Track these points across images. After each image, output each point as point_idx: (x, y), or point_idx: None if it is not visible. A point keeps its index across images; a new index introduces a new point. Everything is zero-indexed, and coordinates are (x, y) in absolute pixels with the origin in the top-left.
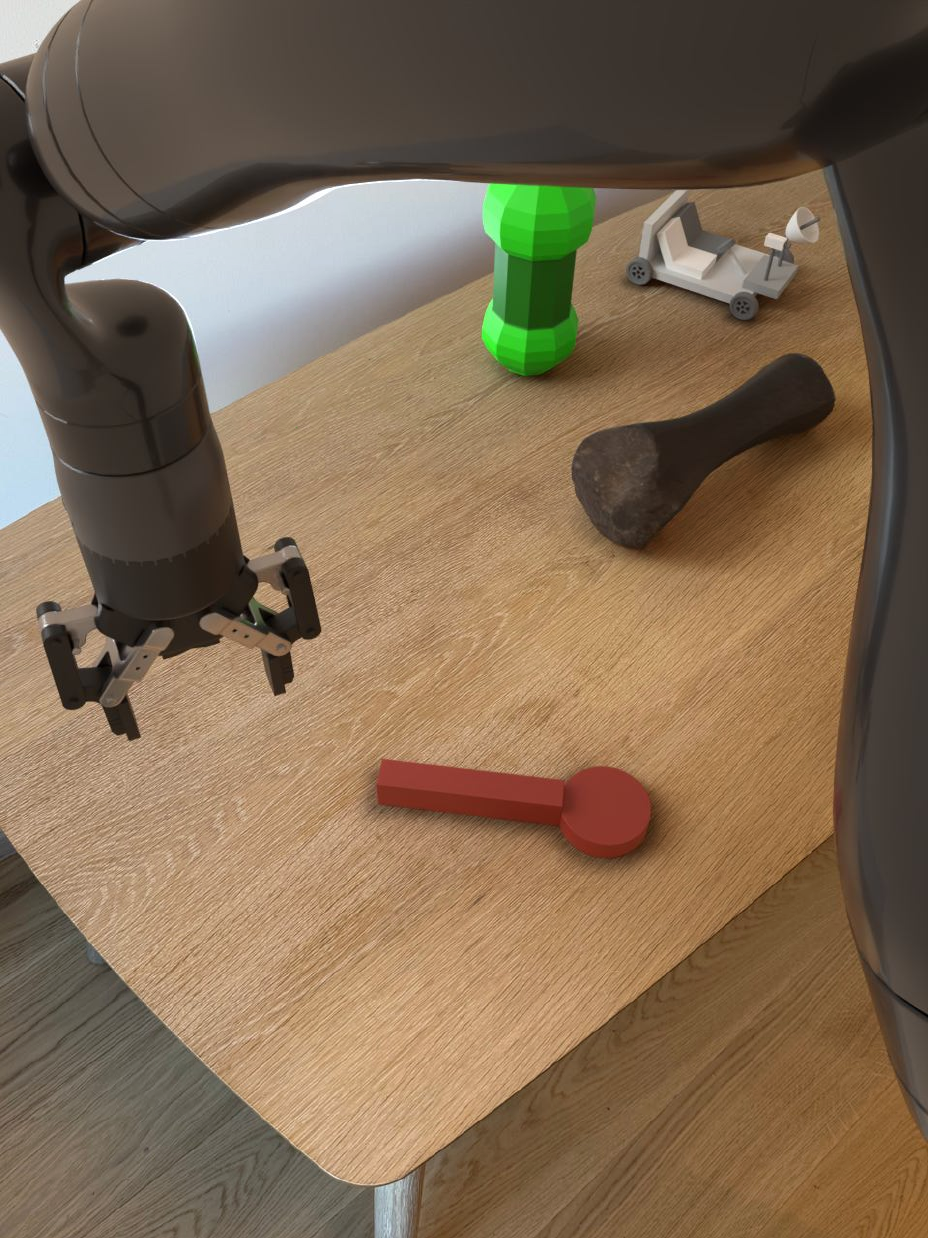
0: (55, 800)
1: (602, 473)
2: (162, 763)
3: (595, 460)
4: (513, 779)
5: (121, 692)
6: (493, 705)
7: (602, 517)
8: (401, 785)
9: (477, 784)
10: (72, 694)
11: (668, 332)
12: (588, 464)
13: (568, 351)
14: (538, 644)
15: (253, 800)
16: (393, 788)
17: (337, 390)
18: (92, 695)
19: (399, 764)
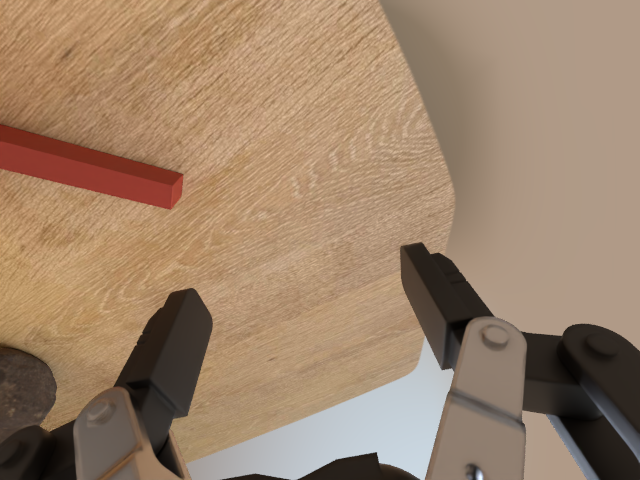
0: (425, 213)
1: (3, 415)
2: (350, 231)
3: (14, 422)
4: (32, 171)
5: (475, 355)
6: (95, 245)
7: (21, 375)
8: (148, 181)
9: (70, 171)
10: (631, 380)
11: None
12: (23, 418)
13: None
14: (68, 288)
15: (286, 193)
16: (156, 180)
17: (234, 432)
18: (533, 351)
19: (153, 202)
